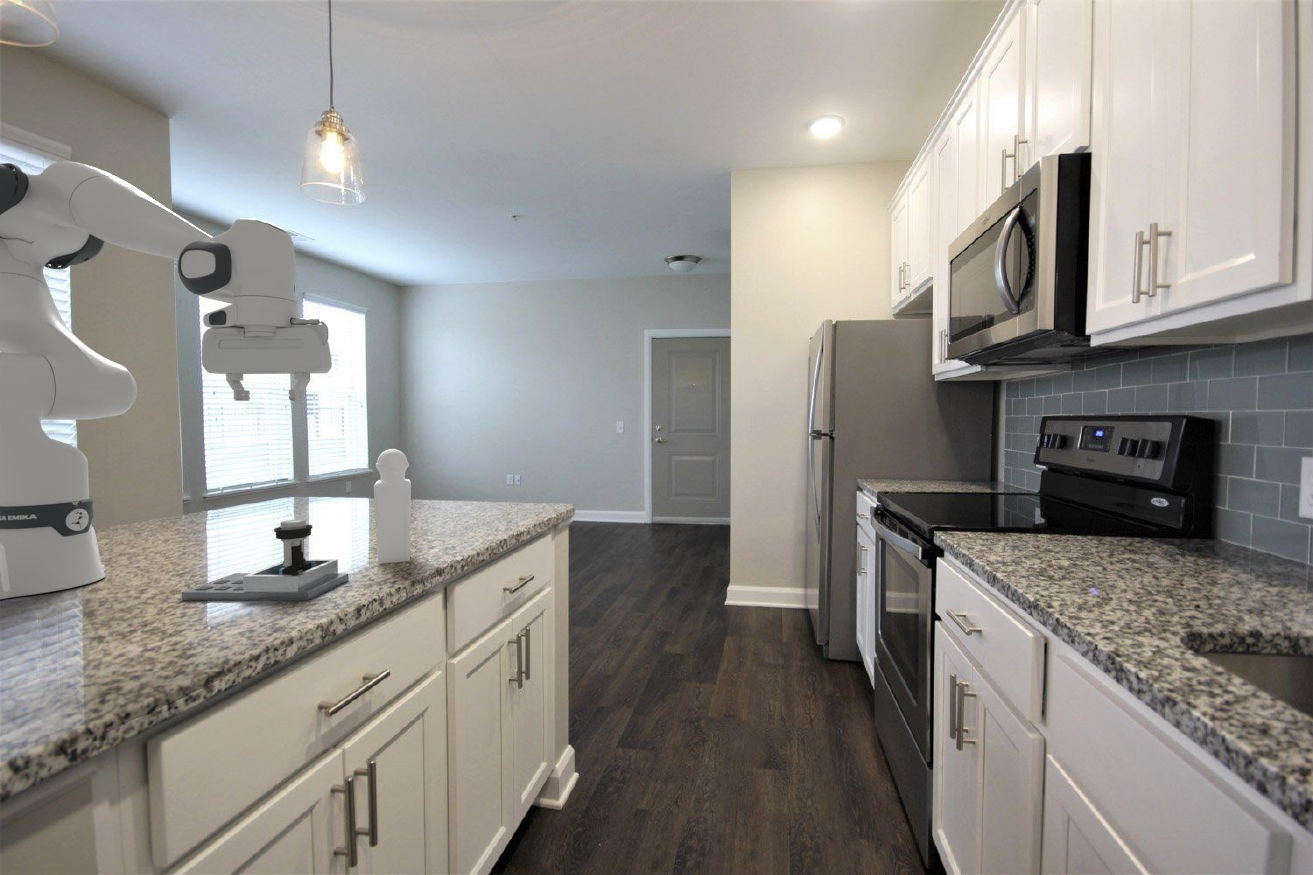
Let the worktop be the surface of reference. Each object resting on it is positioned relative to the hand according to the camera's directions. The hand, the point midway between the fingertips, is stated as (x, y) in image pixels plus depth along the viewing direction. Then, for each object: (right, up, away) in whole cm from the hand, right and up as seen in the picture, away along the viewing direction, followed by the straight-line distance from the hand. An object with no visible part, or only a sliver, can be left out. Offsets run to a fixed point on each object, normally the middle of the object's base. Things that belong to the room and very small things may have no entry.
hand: (269, 400), depth 98 cm
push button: (+6, -30, -3) cm, 31 cm away
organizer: (+2, -31, -3) cm, 31 cm away
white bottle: (+14, -31, +17) cm, 37 cm away
